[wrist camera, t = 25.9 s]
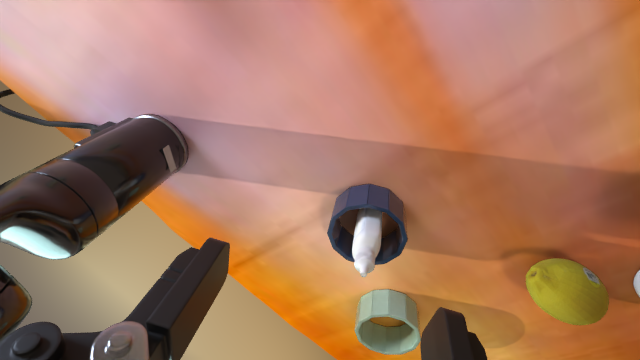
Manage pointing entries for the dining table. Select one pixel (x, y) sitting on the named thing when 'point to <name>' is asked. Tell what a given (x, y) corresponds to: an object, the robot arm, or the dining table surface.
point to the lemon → (567, 291)
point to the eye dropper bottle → (367, 239)
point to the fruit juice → (637, 283)
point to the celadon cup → (388, 337)
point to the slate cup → (378, 201)
